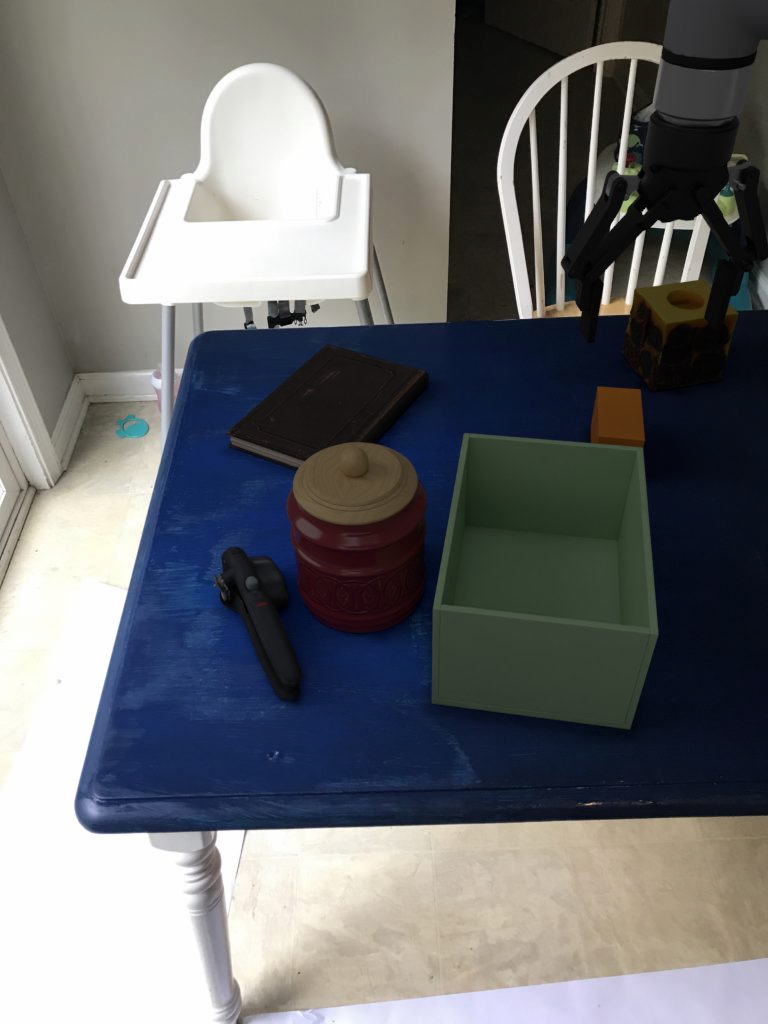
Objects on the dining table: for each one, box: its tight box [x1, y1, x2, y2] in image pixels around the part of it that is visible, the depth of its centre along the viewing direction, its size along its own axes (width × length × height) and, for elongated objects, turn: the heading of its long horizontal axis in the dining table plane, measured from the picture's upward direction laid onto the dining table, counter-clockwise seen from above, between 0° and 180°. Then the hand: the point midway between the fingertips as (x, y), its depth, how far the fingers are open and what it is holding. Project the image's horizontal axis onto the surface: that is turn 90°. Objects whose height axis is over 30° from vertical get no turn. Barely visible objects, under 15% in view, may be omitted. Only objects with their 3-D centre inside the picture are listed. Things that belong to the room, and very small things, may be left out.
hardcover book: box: [225, 343, 430, 471], centre depth 106 cm, size 16×23×2 cm
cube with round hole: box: [621, 279, 740, 392], centre depth 109 cm, size 10×10×10 cm
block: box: [590, 386, 646, 449], centre depth 97 cm, size 5×10×6 cm, turn 170°
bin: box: [431, 432, 660, 730], centre depth 77 cm, size 17×23×13 cm
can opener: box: [212, 545, 303, 702], centre depth 78 cm, size 18×7×6 cm, turn 22°
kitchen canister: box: [285, 442, 428, 634], centre depth 79 cm, size 13×13×18 cm
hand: (650, 330), depth 86 cm, fingers open, 13 cm apart
